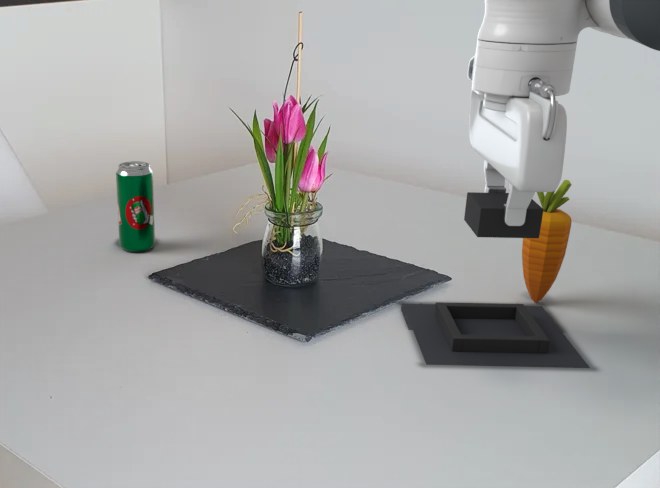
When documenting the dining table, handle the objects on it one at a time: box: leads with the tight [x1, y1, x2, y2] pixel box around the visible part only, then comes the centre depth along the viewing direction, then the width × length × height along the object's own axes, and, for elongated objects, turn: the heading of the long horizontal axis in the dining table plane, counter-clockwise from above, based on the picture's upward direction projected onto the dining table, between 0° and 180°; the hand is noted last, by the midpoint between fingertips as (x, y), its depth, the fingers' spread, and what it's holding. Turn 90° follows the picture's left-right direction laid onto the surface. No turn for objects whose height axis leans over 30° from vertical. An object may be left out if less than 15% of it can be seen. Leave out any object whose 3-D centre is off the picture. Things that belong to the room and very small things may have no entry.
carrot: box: [521, 179, 573, 304], centre depth 96 cm, size 5×5×15 cm
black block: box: [463, 191, 543, 239], centre depth 84 cm, size 6×6×3 cm
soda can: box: [115, 160, 156, 253], centre depth 117 cm, size 5×5×12 cm
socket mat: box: [400, 302, 591, 369], centre depth 89 cm, size 16×16×2 cm
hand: (502, 213), depth 84 cm, fingers closed on black block, 6 cm apart
